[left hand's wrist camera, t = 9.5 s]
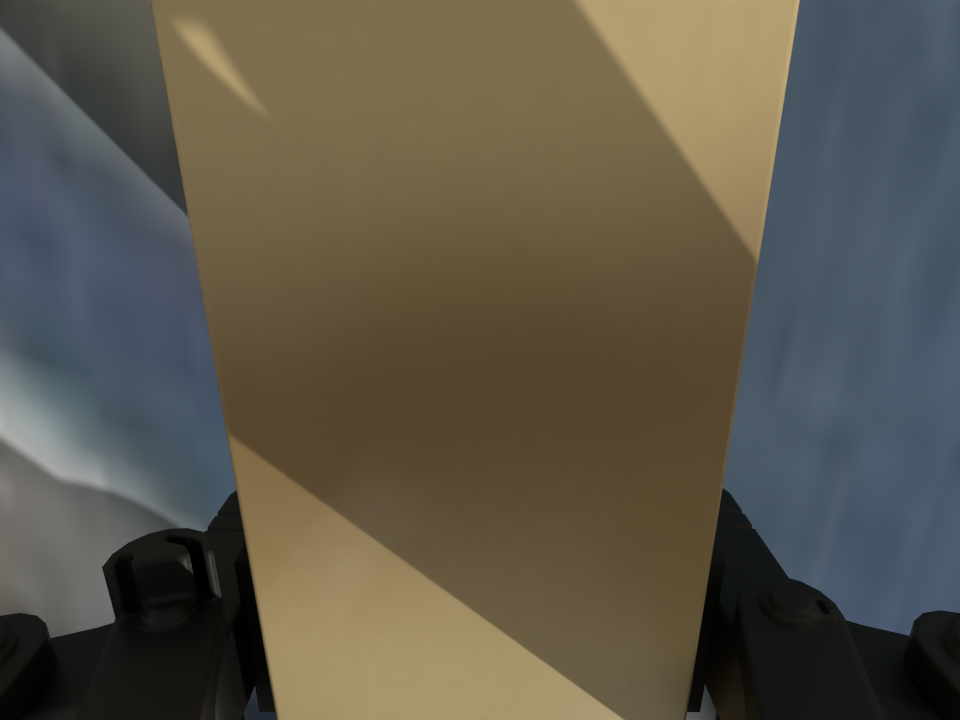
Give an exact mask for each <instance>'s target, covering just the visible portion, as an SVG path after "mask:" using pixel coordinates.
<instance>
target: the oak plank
mask: <svg viewBox="0 0 960 720" xmlns="http://www.w3.org/2000/svg"><path fill="white" fill-rule="evenodd" d="M150 1H151V7H152V12H153V18H154V24H155V29H156V35H157V41H158V46H159V52H160V58H161V63H162V69H163V75H164V81H165V86H166V92H167V98H168V103H169V109H170V115H171V120H172V126H173V132H174V137H175V143H176V149H177V154H178V160H179V166H180V171H181V177H182V183H183V189H184V194H185V200H186V206H187V211H188V217H189V223H190V228H191V234H192V240H193V245H194V251H195V257H196V262H197V268H198V274H199V279H200V285H201V291H202V296H203V302H204V308H205V314H206V319H207V325H208V331H209V336H210V342H211V348H212V353H213V359H214V365H215V370H216V376H217V382H218V387H219V393H220V399H221V404H222V410H223V416H224V422H225V427H226V433H227V439H228V444H229V450H230V456H231V461H232V467H233V473H234V478H235V484H236V490H237V495H238V501H239V507H240V512H241V518H242V524H243V530H244V535H245V541H246V547H247V552H248V558H249V564H250V569H251V575H252V581H253V586H254V592H255V598H256V603H257V609H258V615H259V620H260V626H261V632H262V638H263V643H264V649H265V655H266V660H267V666H268V672H269V677H270V683H271V689H272V694H273V700H274V706H275V711H276V717H277V720H686V716H687V710H688V703H689V697H690V691H691V684H692V678H693V672H694V665H695V659H696V653H697V646H698V640H699V634H700V627H701V621H702V615H703V608H704V602H705V596H706V589H707V583H708V577H709V570H710V564H711V558H712V551H713V545H714V539H715V532H716V526H717V520H718V513H719V507H720V501H721V494H722V488H723V482H724V475H725V469H726V463H727V456H728V450H729V444H730V438H731V431H732V425H733V419H734V412H735V406H736V400H737V393H738V387H739V381H740V374H741V368H742V362H743V355H744V349H745V343H746V336H747V330H748V324H749V317H750V311H751V305H752V298H753V292H754V286H755V279H756V273H757V267H758V260H759V254H760V248H761V241H762V235H763V229H764V222H765V216H766V210H767V203H768V197H769V191H770V184H771V178H772V172H773V165H774V159H775V153H776V146H777V140H778V134H779V127H780V121H781V115H782V109H783V102H784V96H785V90H786V83H787V77H788V71H789V64H790V58H791V52H792V45H793V39H794V33H795V26H796V20H797V14H798V7H799V1H800V0H150Z"/></svg>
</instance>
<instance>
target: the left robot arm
mask: <svg viewBox="0 0 960 720" xmlns="http://www.w3.org/2000/svg"><path fill="white" fill-rule="evenodd" d="M102 568H103V572H104V576H105V580H106V584H107V587H108V591H109V595H110V599H111V602H112V606H113V610H114V614H115V617H116V619H115V621H114V623H112V624H108V625H105V626H102V627H98V628H94V629H90V630H85V631H81V632H77V633H72V634H68V635H64V636H59V637H55V638H50V635H49V632H48V629H47V625H46V623H45V622H43V621H42V620H41V619H40V618H39V617H38V616H35V615H29V614H22V613H18V614H11V615H3V616H0V720H245V717H244V711H245V708H246V706H247V703H248V701H249V699H250V696H251V694H252V691H253V689H254V686H255V688H256V694H257V699H258V705H259V711H260V712H276V711H275V706H274V700H273V694H272V689H271V683H270V677H269V672H268V666H267V660H266V655H265V649H264V643H263V638H262V632H261V626H260V620H259V615H258V609H257V603H256V598H255V592H254V586H253V581H252V575H251V569H250V564H249V558H248V552H247V547H246V541H245V535H244V530H243V524H242V518H241V512H240V507H239V501H238V495H237V490H236V491H235V492H234V493H232V494H231V495H230V496H229V497H228V499H227V500H226V502H225V503H224V504H223V506H222V507H221V509H220V510H219V512H218V516H215V518H214V519H213V520H212V522H211V523H210V525H209V526H208V530H207V531H205V532H201V531H197V530H193V529H189V528H181V529H167V530H163V531H159V532H154V533H150V534H147V535H145V536H143V537H141V538H138V539H136V540H134V541H131V542H129V543H128V544H126V545H125V546H123V547H122V548H121V549H119V550H118V551H116V552H115V553H114V554H112V556H111V557H110V558H109V559H108V561H107V562H106V563H105V565H104V566H103V567H102ZM704 685H706V687H707V689H708V692H709V694H710V697H711V699H712V702H713V704H714V707H715V709H716V717H715V720H960V613H955V612H947V611H933V612H927V613H923V614H922V615H921V616H919V617H918V618H917V619H916V620H915V621H914V623H913V626H912V630H911V633H910V636H908V635H903V634H899V633H894V632H890V631H886V630H881V629H877V628H872V627H868V626H864V625H860V624H857V623H853V622H850V621H846V620H845V618H844V616H843V615H842V613H841V612H840V610H839V609H838V607H837V606H836V604H835V603H834V602H832V601H831V600H830V599H829V598H828V597H826V596H825V595H824V594H823V593H821V592H820V591H819V590H817V589H815V588H813V587H811V586H809V585H807V584H805V583H803V582H801V581H797V580H793V579H790V578H788V576H787V575H786V573H785V572H784V571H783V569H782V568H781V566H780V565H779V563H778V562H777V560H776V559H775V558H774V556H773V555H772V553H771V552H770V550H769V549H768V547H767V546H766V545H765V543H764V542H763V540H762V539H761V537H760V536H759V535H758V533H757V532H756V530H755V529H752V524H751V523H750V522H749V520H748V519H747V517H746V516H745V514H742V510H741V509H740V507H739V506H738V504H737V503H736V501H735V500H734V499H733V497H732V496H731V494H730V493H729V492H727V491H726V490H725V489H723V488H722V494H721V501H720V507H719V513H718V520H717V526H716V532H715V539H714V545H713V551H712V558H711V564H710V570H709V577H708V583H707V589H706V596H705V602H704V608H703V615H702V621H701V627H700V634H699V640H698V646H697V653H696V659H695V665H694V672H693V678H692V684H691V691H690V697H689V703H688V710H687V712H700V708H701V702H702V697H703V691H704Z"/></svg>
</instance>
